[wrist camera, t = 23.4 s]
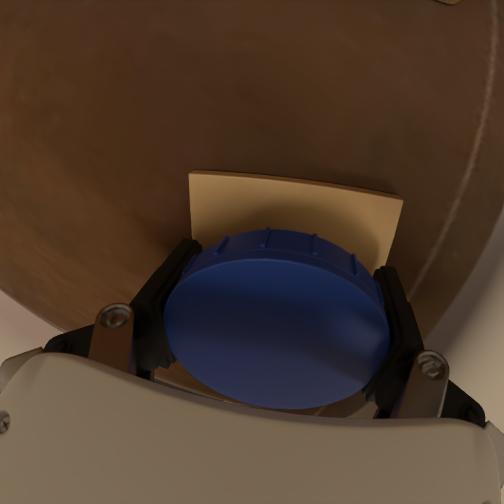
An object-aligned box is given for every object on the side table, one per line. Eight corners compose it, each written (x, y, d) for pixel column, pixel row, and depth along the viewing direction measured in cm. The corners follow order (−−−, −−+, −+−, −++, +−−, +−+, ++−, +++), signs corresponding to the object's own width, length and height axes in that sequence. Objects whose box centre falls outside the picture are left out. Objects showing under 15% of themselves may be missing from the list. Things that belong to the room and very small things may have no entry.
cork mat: (351, 340, 13) (352, 349, 13) (204, 318, 14) (200, 326, 14) (399, 195, 9) (403, 200, 9) (194, 169, 10) (188, 173, 10)
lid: (167, 212, 8) (140, 237, 6) (415, 248, 7) (433, 280, 5) (189, 360, 11) (177, 387, 10) (348, 387, 10) (348, 416, 9)
